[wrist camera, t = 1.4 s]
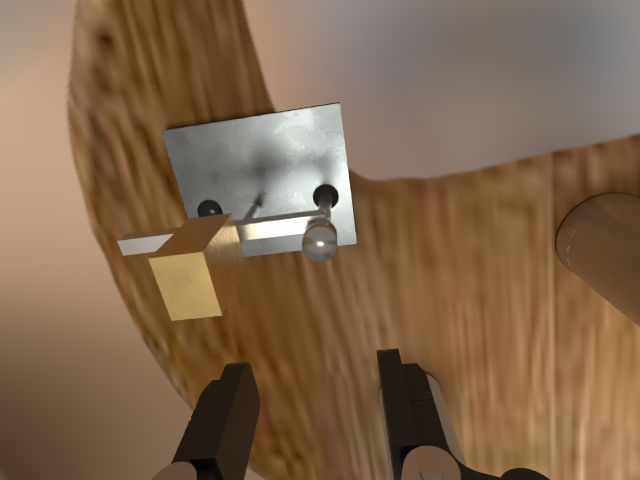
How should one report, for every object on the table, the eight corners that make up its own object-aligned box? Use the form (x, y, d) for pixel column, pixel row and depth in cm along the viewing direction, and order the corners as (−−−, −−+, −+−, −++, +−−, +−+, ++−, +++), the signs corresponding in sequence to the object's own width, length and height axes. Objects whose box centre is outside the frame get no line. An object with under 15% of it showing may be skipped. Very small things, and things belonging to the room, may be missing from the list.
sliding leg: (263, 171, 36) (202, 251, 19) (272, 210, 37) (222, 315, 21) (233, 175, 36) (148, 258, 20) (243, 214, 37) (171, 320, 21)
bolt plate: (339, 102, 35) (341, 118, 22) (356, 237, 40) (365, 316, 27) (162, 129, 36) (64, 160, 23) (201, 256, 42) (140, 339, 29)
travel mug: (408, 358, 47) (448, 512, 30) (452, 389, 48) (512, 551, 32) (366, 394, 49) (381, 552, 33) (409, 422, 51) (444, 586, 35)
